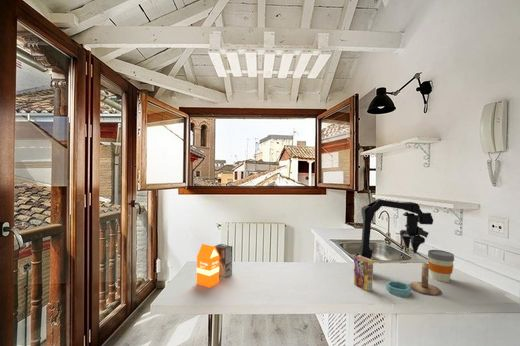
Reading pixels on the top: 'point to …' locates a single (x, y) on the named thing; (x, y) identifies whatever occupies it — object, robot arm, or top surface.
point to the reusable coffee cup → (440, 265)
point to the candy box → (363, 272)
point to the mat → (426, 294)
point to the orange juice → (207, 266)
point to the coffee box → (224, 259)
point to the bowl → (398, 288)
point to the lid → (425, 283)
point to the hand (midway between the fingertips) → (411, 250)
